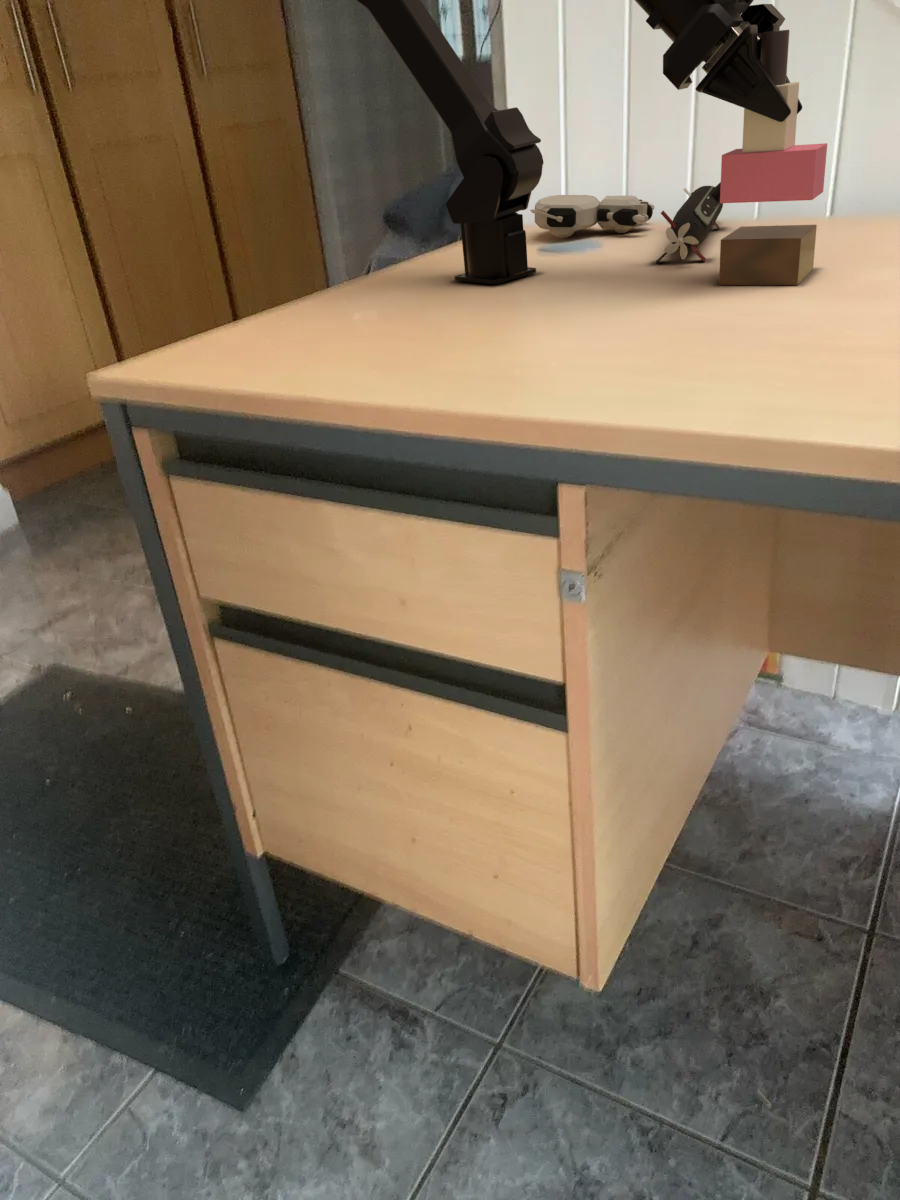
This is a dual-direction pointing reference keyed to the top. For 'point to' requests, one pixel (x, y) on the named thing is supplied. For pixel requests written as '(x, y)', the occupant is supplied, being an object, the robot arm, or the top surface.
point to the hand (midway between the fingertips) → (792, 115)
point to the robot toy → (590, 213)
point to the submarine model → (693, 220)
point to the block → (767, 255)
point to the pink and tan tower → (773, 145)
